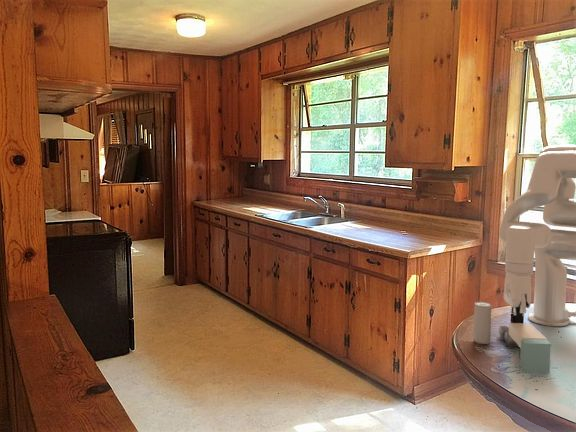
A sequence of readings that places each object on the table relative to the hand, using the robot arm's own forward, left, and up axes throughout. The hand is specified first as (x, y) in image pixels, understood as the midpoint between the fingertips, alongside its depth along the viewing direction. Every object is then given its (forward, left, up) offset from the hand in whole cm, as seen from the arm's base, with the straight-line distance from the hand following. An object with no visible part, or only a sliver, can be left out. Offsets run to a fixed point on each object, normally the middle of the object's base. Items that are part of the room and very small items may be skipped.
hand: (516, 327), depth 145 cm
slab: (0, +8, -2) cm, 8 cm away
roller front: (0, 0, -6) cm, 6 cm away
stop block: (+1, +17, -6) cm, 18 cm away
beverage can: (+9, -2, -6) cm, 11 cm away
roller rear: (0, -5, -6) cm, 8 cm away
